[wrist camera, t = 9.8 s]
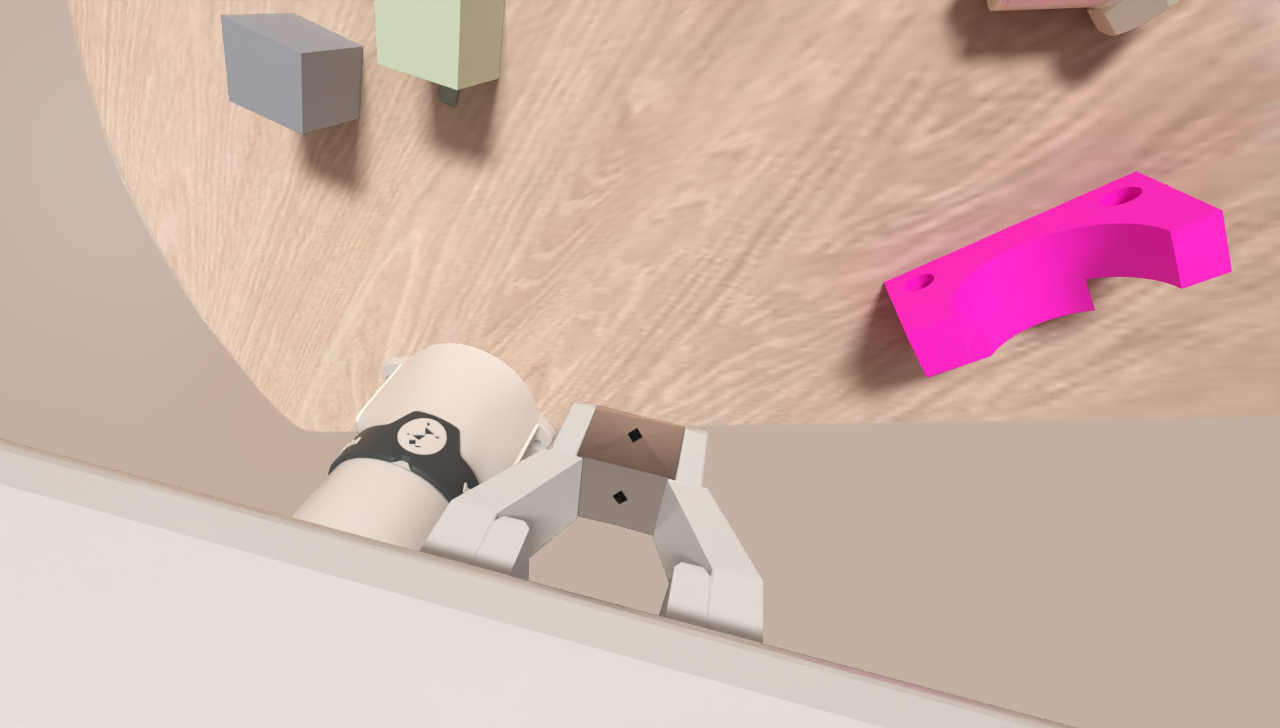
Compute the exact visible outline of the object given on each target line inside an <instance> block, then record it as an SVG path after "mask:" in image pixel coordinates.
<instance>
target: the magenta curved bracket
mask: <svg viewBox="0 0 1280 728" xmlns="http://www.w3.org/2000/svg"><path fill="white" fill-rule="evenodd" d="M1229 272H1232V269H1231V263H1230V256H1229V250H1228V243H1227V236H1226V230H1225V223H1224V217H1223V210H1220V209H1218V208H1216V207H1214V206H1212V205H1209V204H1207V203H1205V202H1203V201H1201V200H1198V199H1196V198H1194V197H1192V196H1190V195H1187V194H1185V193H1183V192H1181V191H1179V190H1176V189H1174V188H1172V187H1170V186H1168V185H1165V184H1163V183H1161V182H1159V181H1157V180H1154V179H1152V178H1150V177H1148V176H1146V175H1143V174H1141V173H1139V172H1137V171H1136V172H1133V173H1131V174H1129V175H1127V176H1124V177H1122V178H1120V179H1118V180H1115V181H1113V182H1111V183H1108V184H1106V185H1104V186H1102V187H1099V188H1097V189H1095V190H1093V191H1090V192H1088V193H1086V194H1084V195H1081V196H1079V197H1077V198H1074V199H1072V200H1070V201H1068V202H1065V203H1063V204H1061V205H1059V206H1056V207H1054V208H1052V209H1049V210H1047V211H1045V212H1043V213H1040V214H1038V215H1036V216H1034V217H1031V218H1029V219H1027V220H1025V221H1022V222H1020V223H1018V224H1015V225H1013V226H1011V227H1009V228H1006V229H1004V230H1002V231H1000V232H997V233H995V234H993V235H990V236H988V237H986V238H984V239H981V240H979V241H977V242H975V243H972V244H970V245H968V246H966V247H963V248H961V249H959V250H956V251H954V252H952V253H950V254H947V255H945V256H943V257H941V258H938V259H936V260H934V261H931V262H929V263H927V264H925V265H922V266H920V267H918V268H916V269H913V270H911V271H909V272H907V273H904V274H902V275H900V276H897V277H895V278H893V279H891V280H888V281H886V282H884V284H885V287H886V289H887V291H888V294H889V296H890V298H891V301H892V303H893V305H894V308H895V310H896V312H897V315H898V317H899V319H900V322H901V324H902V326H903V329H904V331H905V333H906V335H907V338H908V340H909V342H910V344H911V346H912V348H913V350H914V352H915V354H916V356H917V358H918V360H919V362H920V365H921V367H922V369H923V371H924V373H925V375H926V377H931V376H934V375H937V374H940V373H943V372H946V371H949V370H952V369H954V368H957V367H960V366H963V365H966V364H969V363H972V362H975V361H978V360H981V359H984V358H986V357H989V356H991V355H992V354H993V353H994V352H995V351H996V350H997V349H998V348H999V347H1000V346H1001V345H1002V344H1004V343H1005V342H1006V341H1007V340H1009V339H1010V338H1012V337H1013V336H1015V335H1017V334H1018V333H1020V332H1022V331H1024V330H1026V329H1028V328H1030V327H1032V326H1034V325H1037V324H1039V323H1042V322H1045V321H1047V320H1050V319H1054V318H1057V317H1060V316H1065V315H1069V314H1073V313H1079V312H1085V311H1092V310H1095V309H1094V306H1093V302H1092V299H1091V296H1090V292H1089V289H1088V285H1087V282H1086V279H1091V278H1101V277H1137V278H1146V279H1152V280H1157V281H1161V282H1165V283H1168V284H1171V285H1174V286H1176V287H1179V288H1181V289H1183V288H1186V287H1189V286H1191V285H1194V284H1197V283H1200V282H1203V281H1206V280H1209V279H1212V278H1215V277H1218V276H1220V275H1223V274H1226V273H1229Z"/></svg>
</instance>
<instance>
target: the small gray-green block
mask: <svg viewBox="0 0 1280 728" xmlns="http://www.w3.org/2000/svg"><path fill="white" fill-rule="evenodd" d="M457 95H458V90H455V89H452V88H449V87H446V86H443V85H440V92H439V100H440V101H442V102H444V103H446V104H449V105H451V106H453V107H456V101H457Z"/></svg>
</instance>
